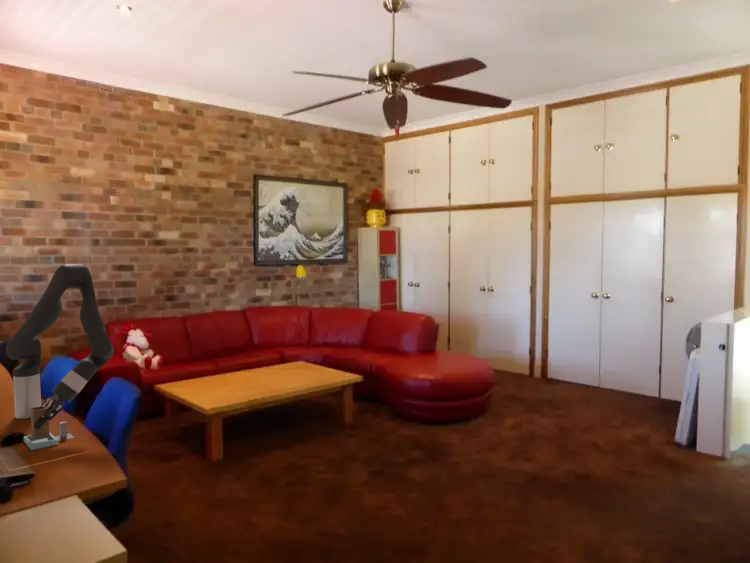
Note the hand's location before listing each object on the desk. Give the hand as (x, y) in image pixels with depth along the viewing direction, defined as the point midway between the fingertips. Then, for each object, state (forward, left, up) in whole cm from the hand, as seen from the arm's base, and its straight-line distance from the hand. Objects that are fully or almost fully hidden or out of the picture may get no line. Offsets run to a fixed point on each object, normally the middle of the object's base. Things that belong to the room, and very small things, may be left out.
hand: (33, 426), depth 194 cm
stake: (-1, +9, -7) cm, 12 cm away
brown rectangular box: (0, +2, -4) cm, 4 cm away
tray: (0, +2, -7) cm, 7 cm away
